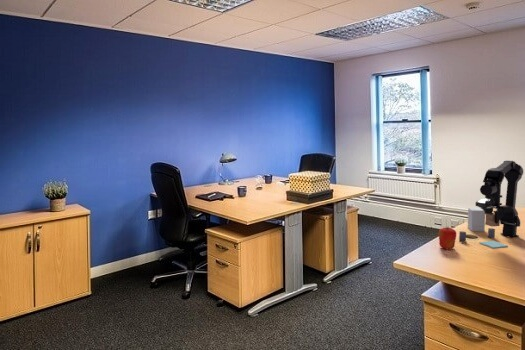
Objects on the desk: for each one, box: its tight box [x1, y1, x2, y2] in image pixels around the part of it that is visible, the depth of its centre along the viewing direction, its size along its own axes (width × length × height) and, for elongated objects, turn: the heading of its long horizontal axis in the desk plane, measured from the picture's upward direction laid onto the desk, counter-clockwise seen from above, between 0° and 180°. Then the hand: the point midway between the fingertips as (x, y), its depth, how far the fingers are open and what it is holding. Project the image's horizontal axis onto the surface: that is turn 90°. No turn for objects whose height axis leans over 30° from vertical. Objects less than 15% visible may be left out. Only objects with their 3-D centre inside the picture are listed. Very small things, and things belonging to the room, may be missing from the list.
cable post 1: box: [458, 230, 467, 243], centre depth 207 cm, size 3×3×5 cm
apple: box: [437, 226, 457, 250], centre depth 195 cm, size 9×8×12 cm
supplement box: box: [467, 207, 486, 232], centre depth 227 cm, size 7×7×13 cm
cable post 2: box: [487, 227, 496, 239], centre depth 211 cm, size 3×3×5 cm
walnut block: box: [485, 212, 501, 228], centre depth 198 cm, size 4×4×6 cm
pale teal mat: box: [478, 240, 508, 249], centre depth 198 cm, size 9×9×1 cm
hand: (492, 222), depth 198 cm, fingers closed on walnut block, 4 cm apart
